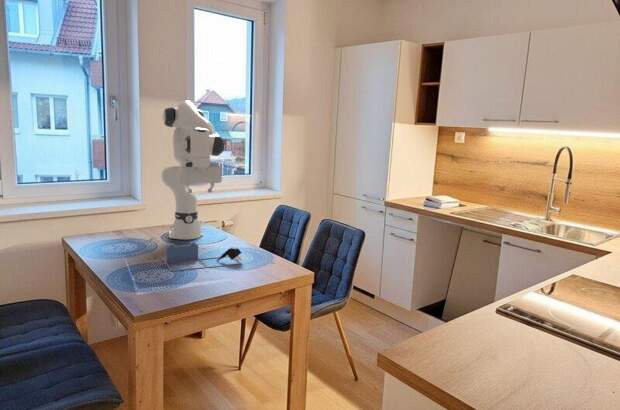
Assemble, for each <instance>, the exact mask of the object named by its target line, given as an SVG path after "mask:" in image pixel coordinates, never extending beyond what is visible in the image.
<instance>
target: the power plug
mask: <svg viewBox="0 0 620 410" xmlns="http://www.w3.org/2000/svg"><path fill="white" fill-rule="evenodd" d="M241 253H242V251H241V250H240V248H238V247H233V246H232V247H230V248H228V249H227V250H225V251H224V252H223V253H222V254H221V256H219V257H220V258H217V260H216V262H219V261H220V260H222V259H224V257H225V256H229V257H228V258H229V259H230V260H231V261H233V260H234V258H236V260H237V261H238V262H240V261H242V260H243V259H242V258H241V256H240V255H241ZM225 258H226V257H225ZM236 260H235V261H236ZM237 261H236V262H237ZM238 262H237V263H238Z"/></svg>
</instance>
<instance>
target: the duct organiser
mask: <svg viewBox="0 0 620 410" xmlns="http://www.w3.org/2000/svg"><path fill="white" fill-rule="evenodd" d="M220 257H221V256H217V257H216V256H215V257H205V258H199V244H197V243H196V242H195V241H190V244H185V245H176V244H175V243H169V244H168V246H166V261H164V264H165V266H166V267H167V269H168V270H169V272H179V271H180V272H181V271H190V270H201V269H208V268H219V267H228V266H229V267H230V266H238V265H243V264H242V262H238V261H237V260H236V258H234V259H233V260H235V262H237V263H229V264H221V265H220V264H219V265H210V266H208V265H207V264H206V262H204V260H212V259H214V260H215V259H219V258H220ZM224 258H229V256H228V255H227V256H225V257H224ZM224 258H223V259H224ZM190 261H192V262H193V261H200V263H201V264H202V265H203V266H201V267H193V268H191V267H190V268H181V269H172V268H171V267H170V265H169V264H171V263H182V262H183V263H184V262H190Z"/></svg>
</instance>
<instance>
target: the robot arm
mask: <svg viewBox="0 0 620 410" xmlns="http://www.w3.org/2000/svg"><path fill="white" fill-rule="evenodd" d="M162 121H163V124H164V125H165V126H166V127H169V128H175V129H174V130H173V135H172V146H173V148H172V149H173V157H174V159H175V161H176V162H178V163H179V165H177V166H175V165H174V166H167V167H165V168H163V170H162V172H161V175H160V176H161V181H162V182H163V184H164V185H165V186H167V187H168V189H170V190H171V192H172V194H173V196H174V198H175V200H174V201H175V212H174V218H175V219H174V220H173V222H172V223H171V224H169V229H171V230H169V231H168V238H169V239H176V240H194V239H195V240H196V239H199V238H200V237H204V233H202V232H201V230H202V229H201V221H200V220H199V213H198V199H197V197H196V195H195V194H193V191H192V190H193V188H194V187H203V186H207V185H208V184H209V185H210V186H209V188H207V193H211V194H212V192H213V188H214V187H215V184H221V183H222V181H223V176H222V173H223V166H222V165H221V164H220V163H218V162H217V163H211V156H212V157H214V156H215V157H219V156H220V155H221V154H222V153H223V152H224V149H225V143H224V139H223V138H222V137H221V136H220V135H219V134H218V132H217V131H216V129H215V127H214V126H213V125H212V123H211V122H210V120H207V119H206V118H205V115H204V112H203V111H202V110H201V109H198V108H197V106H196V105H195V104H194V103H193V102H192V101H191V100H182V101H181V102H179V104H177V107H173V106H172V107H166V108H165V109H164V110H163V113H162ZM190 187H193V188H190ZM186 189H187V190H186Z"/></svg>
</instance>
